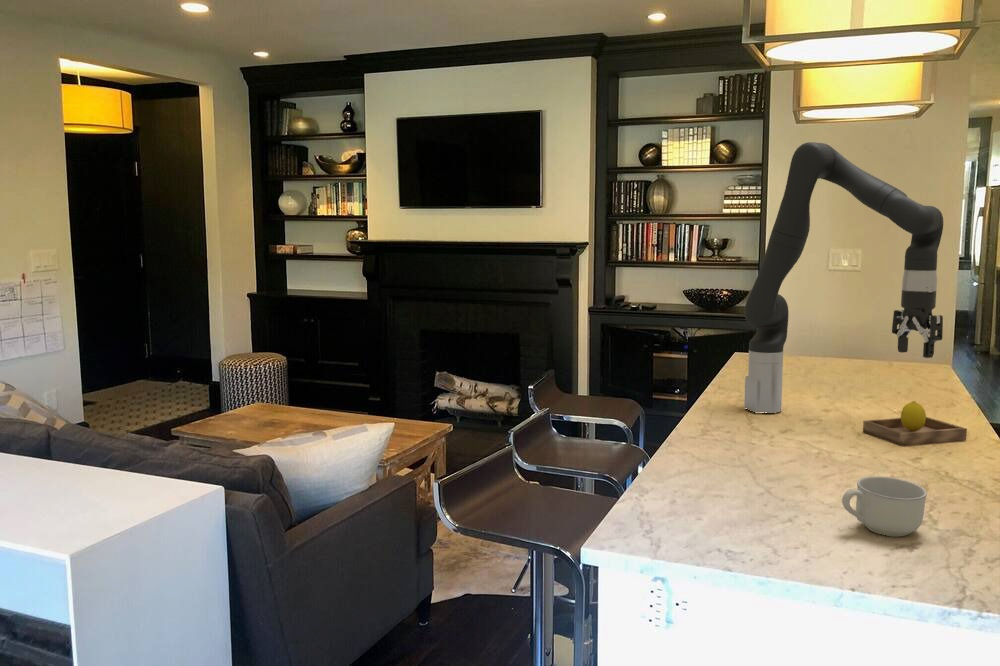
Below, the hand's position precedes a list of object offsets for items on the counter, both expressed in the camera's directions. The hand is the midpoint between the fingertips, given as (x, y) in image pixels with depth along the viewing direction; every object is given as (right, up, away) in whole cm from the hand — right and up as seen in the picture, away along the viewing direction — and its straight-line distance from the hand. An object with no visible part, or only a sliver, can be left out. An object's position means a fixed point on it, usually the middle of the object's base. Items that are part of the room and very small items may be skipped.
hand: (915, 354), depth 201 cm
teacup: (-37, -29, -61) cm, 77 cm away
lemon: (0, -20, +2) cm, 20 cm away
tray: (0, -20, +1) cm, 20 cm away
